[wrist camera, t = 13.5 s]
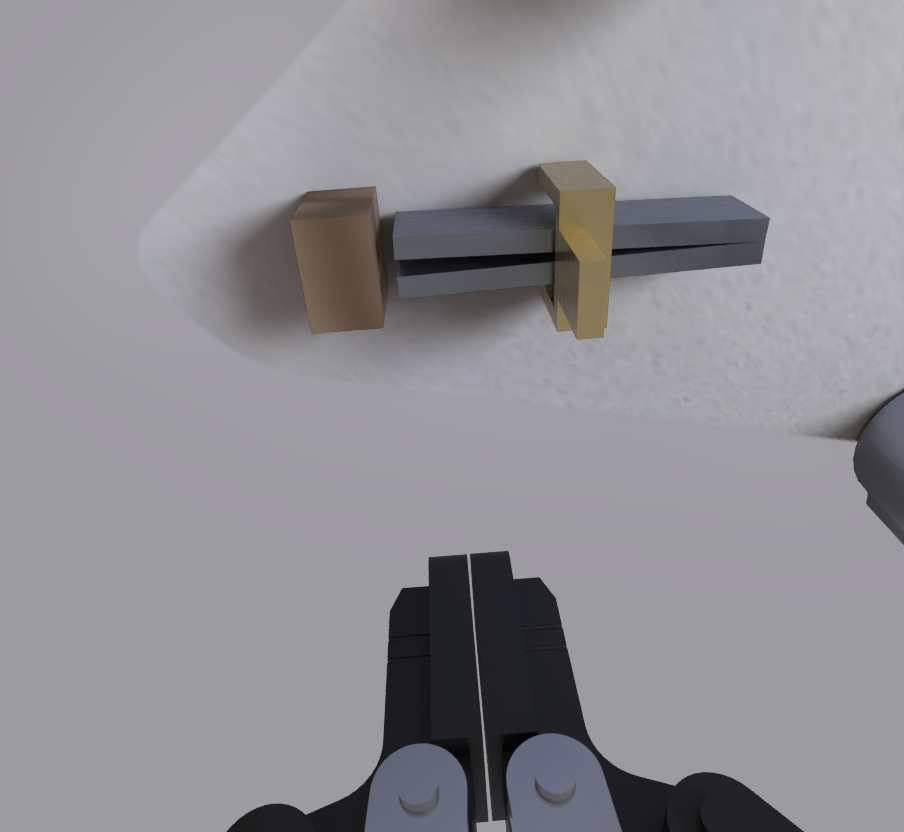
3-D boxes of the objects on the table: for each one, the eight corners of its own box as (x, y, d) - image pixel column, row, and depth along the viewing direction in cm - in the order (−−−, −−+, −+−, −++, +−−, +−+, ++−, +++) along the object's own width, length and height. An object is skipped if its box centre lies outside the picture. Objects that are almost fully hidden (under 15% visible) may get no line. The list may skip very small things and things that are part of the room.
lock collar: (538, 287, 33) (575, 374, 25) (538, 164, 30) (581, 218, 22) (581, 284, 33) (631, 370, 25) (585, 160, 30) (646, 213, 22)
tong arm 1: (401, 268, 32) (399, 299, 29) (399, 248, 32) (396, 277, 28) (724, 236, 32) (761, 263, 29) (727, 216, 31) (764, 241, 28)
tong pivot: (325, 292, 33) (311, 333, 29) (307, 191, 30) (289, 220, 26) (387, 287, 33) (383, 327, 29) (375, 186, 30) (368, 214, 26)
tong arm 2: (397, 232, 31) (394, 260, 28) (395, 211, 31) (392, 236, 27) (727, 216, 31) (764, 241, 28) (731, 195, 31) (769, 218, 28)
